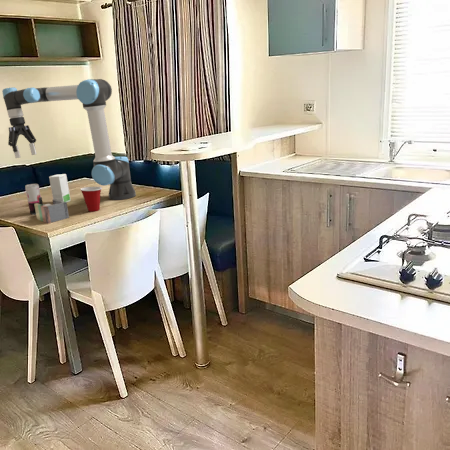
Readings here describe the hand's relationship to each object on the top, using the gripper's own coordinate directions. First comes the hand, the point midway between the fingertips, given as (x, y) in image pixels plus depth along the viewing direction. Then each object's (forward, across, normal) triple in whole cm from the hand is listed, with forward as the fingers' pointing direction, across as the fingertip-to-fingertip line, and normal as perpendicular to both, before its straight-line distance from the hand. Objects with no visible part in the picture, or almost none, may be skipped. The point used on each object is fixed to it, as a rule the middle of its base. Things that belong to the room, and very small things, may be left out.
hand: (26, 156), depth 263 cm
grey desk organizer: (+31, +28, +28) cm, 50 cm away
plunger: (+30, +25, +22) cm, 45 cm away
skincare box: (+28, -3, +13) cm, 32 cm away
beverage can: (+29, +18, +12) cm, 37 cm away
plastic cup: (+32, +12, +42) cm, 54 cm away
